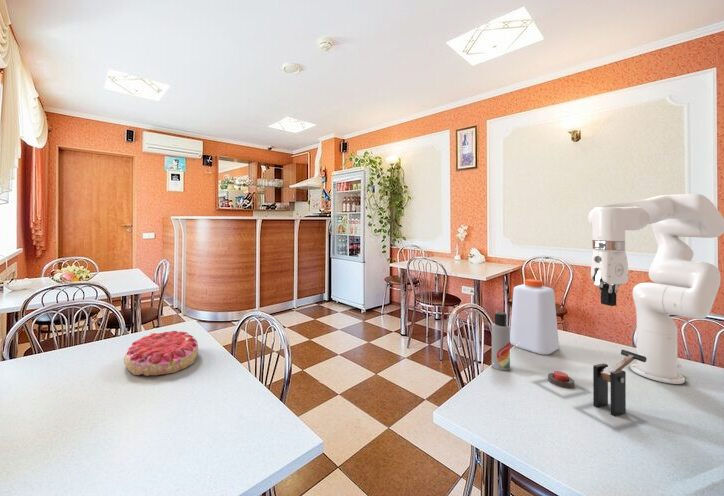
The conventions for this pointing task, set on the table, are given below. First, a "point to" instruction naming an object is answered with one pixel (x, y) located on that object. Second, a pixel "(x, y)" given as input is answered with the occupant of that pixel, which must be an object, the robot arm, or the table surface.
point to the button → (560, 376)
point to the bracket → (616, 390)
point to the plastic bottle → (534, 318)
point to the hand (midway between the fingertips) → (608, 304)
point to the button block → (561, 383)
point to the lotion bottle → (501, 342)
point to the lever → (621, 364)
